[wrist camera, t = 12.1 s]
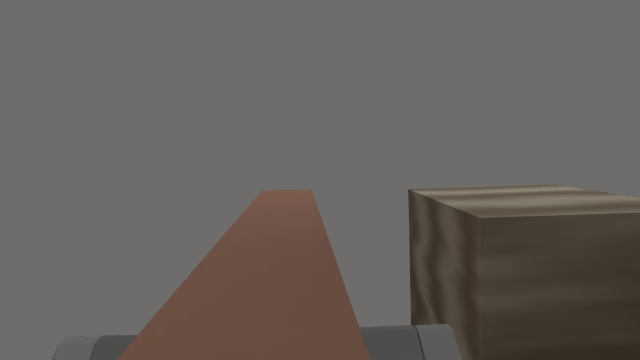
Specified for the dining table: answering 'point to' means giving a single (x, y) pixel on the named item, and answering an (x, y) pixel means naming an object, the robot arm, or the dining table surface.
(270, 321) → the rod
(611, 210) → the stand
